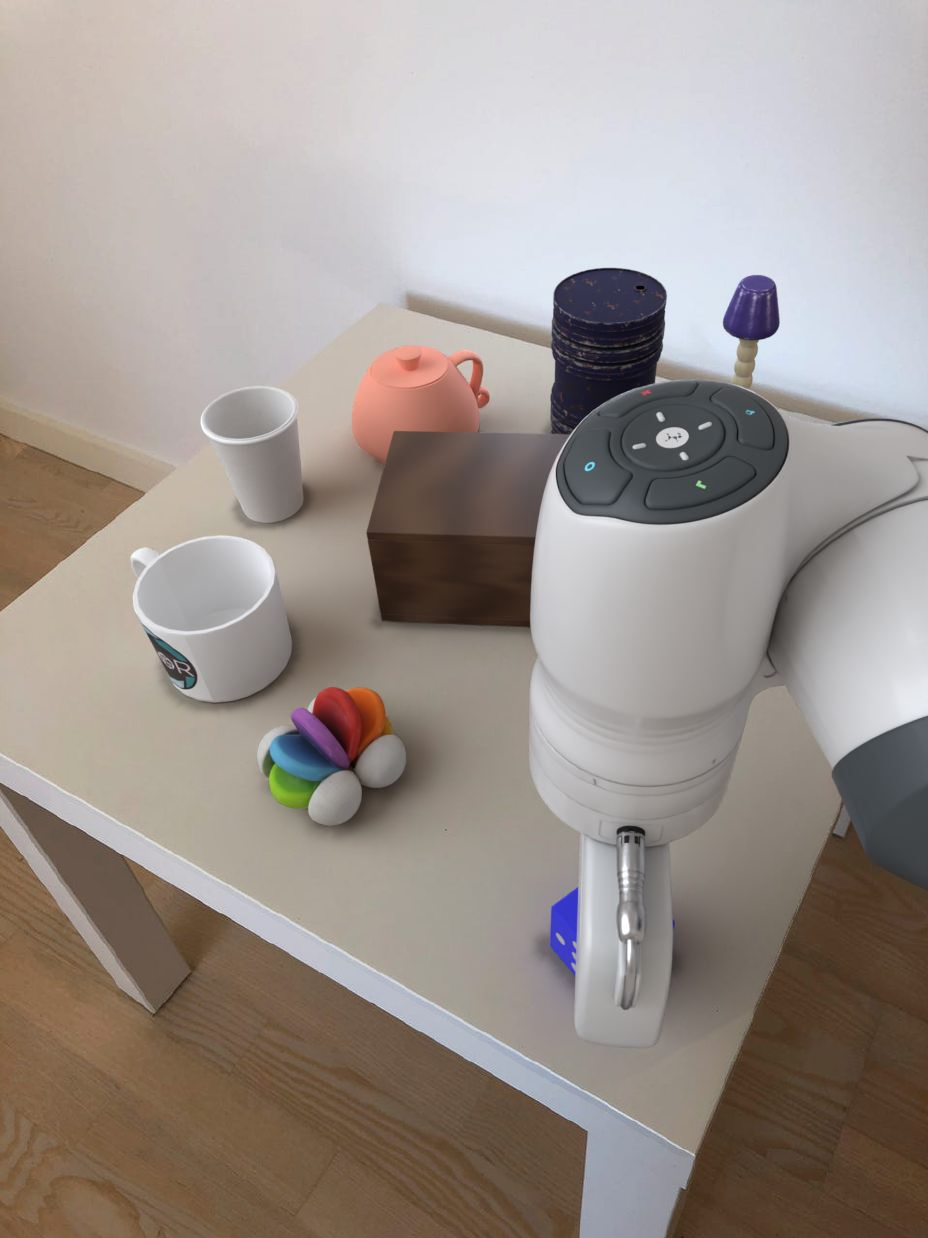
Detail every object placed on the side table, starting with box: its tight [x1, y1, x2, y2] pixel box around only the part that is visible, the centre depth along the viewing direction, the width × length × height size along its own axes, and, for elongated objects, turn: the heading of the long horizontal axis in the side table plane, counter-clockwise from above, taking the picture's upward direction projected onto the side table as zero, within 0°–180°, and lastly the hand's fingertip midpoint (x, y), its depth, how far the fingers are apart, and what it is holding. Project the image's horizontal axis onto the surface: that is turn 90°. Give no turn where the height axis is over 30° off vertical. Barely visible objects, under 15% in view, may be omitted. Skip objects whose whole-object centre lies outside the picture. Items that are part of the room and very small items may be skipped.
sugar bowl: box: [351, 344, 491, 465], centre depth 89 cm, size 12×14×10 cm
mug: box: [129, 534, 293, 704], centre depth 72 cm, size 13×10×8 cm
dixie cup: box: [200, 385, 304, 524], centre depth 84 cm, size 8×8×10 cm
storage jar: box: [549, 267, 668, 434], centre depth 86 cm, size 10×10×15 cm
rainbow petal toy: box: [256, 686, 407, 827], centre depth 64 cm, size 8×10×7 cm
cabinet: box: [366, 431, 571, 628], centre depth 76 cm, size 15×13×10 cm
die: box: [549, 886, 676, 977], centre depth 55 cm, size 5×5×5 cm
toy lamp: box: [722, 274, 781, 390], centre depth 83 cm, size 5×5×17 cm
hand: (609, 891), depth 51 cm, fingers open, 8 cm apart
